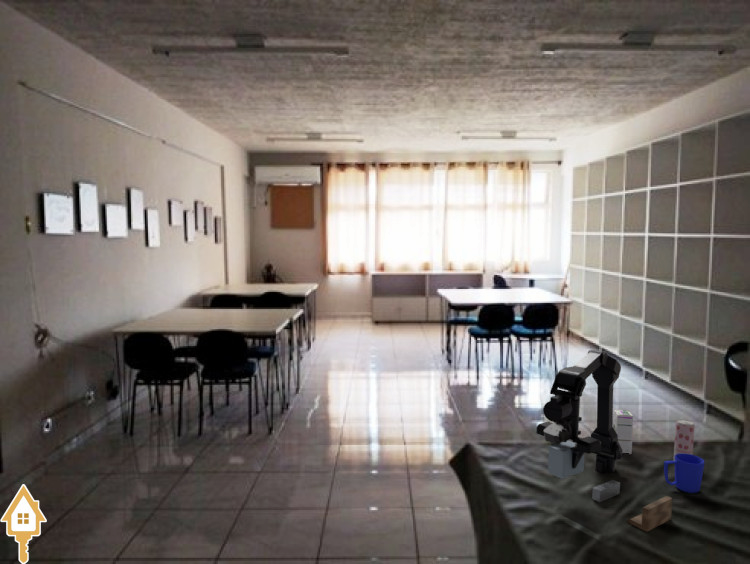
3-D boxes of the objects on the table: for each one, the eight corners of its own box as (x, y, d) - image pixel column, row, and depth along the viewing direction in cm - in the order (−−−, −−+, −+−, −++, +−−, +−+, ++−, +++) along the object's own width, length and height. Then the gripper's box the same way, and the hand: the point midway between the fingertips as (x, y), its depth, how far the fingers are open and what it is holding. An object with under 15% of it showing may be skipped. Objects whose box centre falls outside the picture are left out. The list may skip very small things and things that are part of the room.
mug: (655, 483, 177) (657, 453, 176) (691, 482, 178) (693, 452, 177) (671, 496, 169) (673, 464, 168) (708, 495, 170) (710, 463, 169)
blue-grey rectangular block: (569, 464, 167) (570, 439, 167) (583, 470, 163) (585, 444, 162) (547, 472, 162) (548, 446, 161) (561, 479, 158) (563, 452, 157)
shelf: (584, 480, 178) (585, 462, 178) (670, 519, 155) (672, 498, 155) (560, 490, 172) (561, 470, 171) (646, 531, 149) (648, 509, 148)
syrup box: (632, 454, 200) (634, 415, 199) (614, 453, 201) (617, 414, 200) (628, 448, 206) (630, 410, 204) (611, 446, 207) (613, 409, 205)
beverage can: (685, 468, 189) (688, 425, 187) (669, 462, 194) (672, 420, 192) (695, 464, 192) (698, 423, 190) (679, 458, 197) (682, 418, 195)
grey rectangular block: (612, 490, 169) (612, 479, 169) (619, 493, 167) (620, 482, 167) (592, 499, 164) (592, 487, 163) (599, 502, 162) (600, 491, 161)
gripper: (524, 409, 164) (522, 459, 166) (578, 428, 149) (575, 484, 150) (549, 403, 170) (547, 451, 172) (603, 421, 155) (600, 474, 156)
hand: (566, 464), depth 162 cm, fingers closed on blue-grey rectangular block, 5 cm apart
